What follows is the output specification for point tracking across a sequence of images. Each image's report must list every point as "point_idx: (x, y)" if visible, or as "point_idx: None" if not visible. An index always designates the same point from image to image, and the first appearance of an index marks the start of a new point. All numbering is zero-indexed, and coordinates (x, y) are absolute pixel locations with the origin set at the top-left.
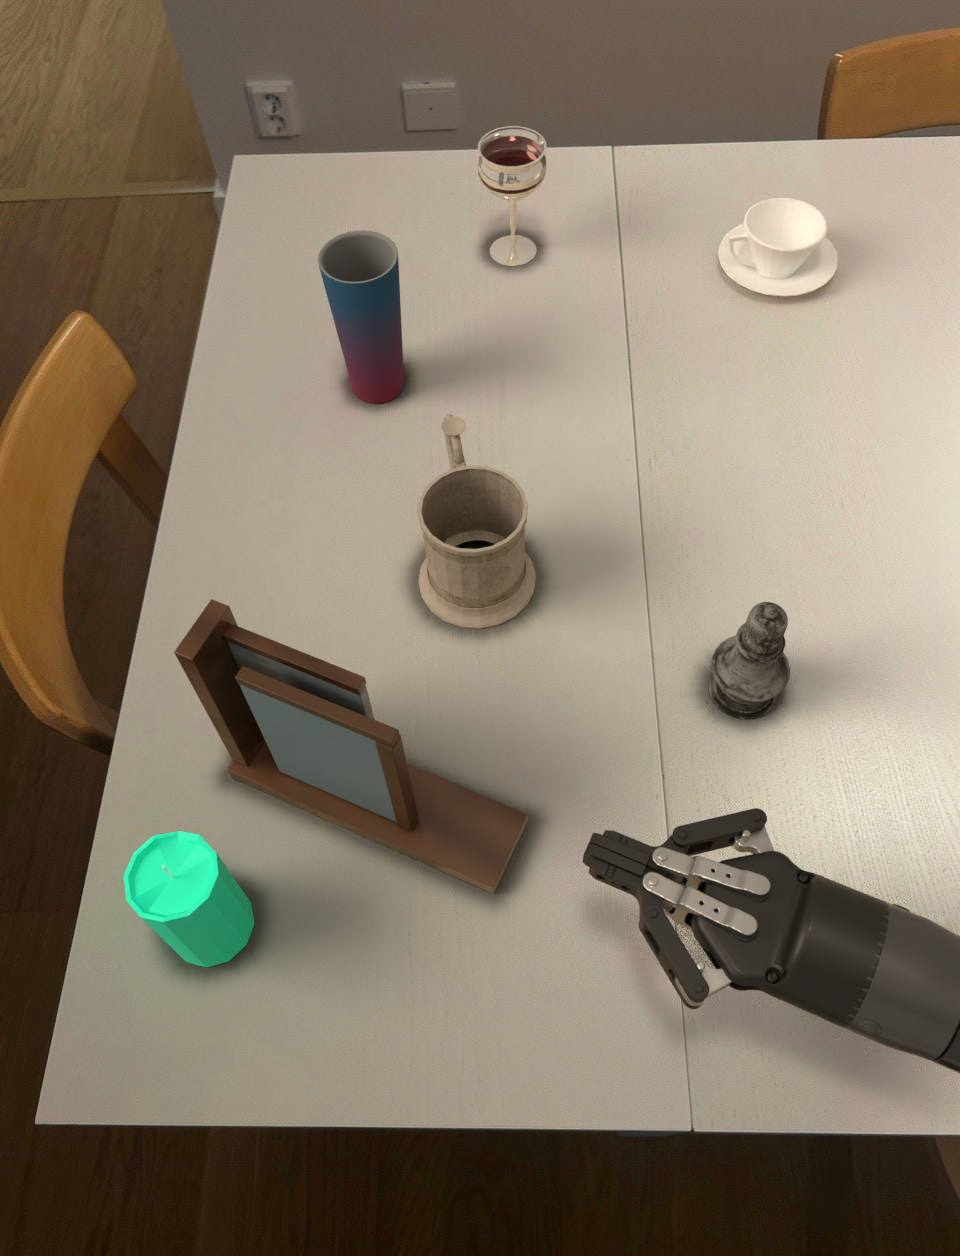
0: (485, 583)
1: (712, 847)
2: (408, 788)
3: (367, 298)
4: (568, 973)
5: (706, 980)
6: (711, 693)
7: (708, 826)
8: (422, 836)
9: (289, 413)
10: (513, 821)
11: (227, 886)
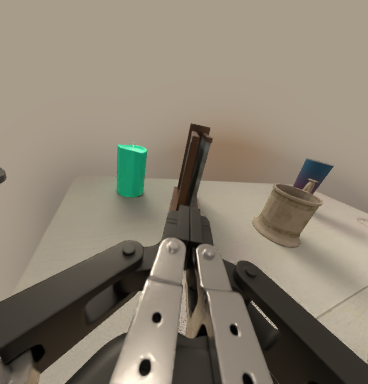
0: (277, 215)
1: (268, 355)
2: (185, 188)
3: (313, 167)
4: None
5: None
6: None
7: (293, 308)
8: None
9: (267, 193)
10: None
11: (134, 162)
